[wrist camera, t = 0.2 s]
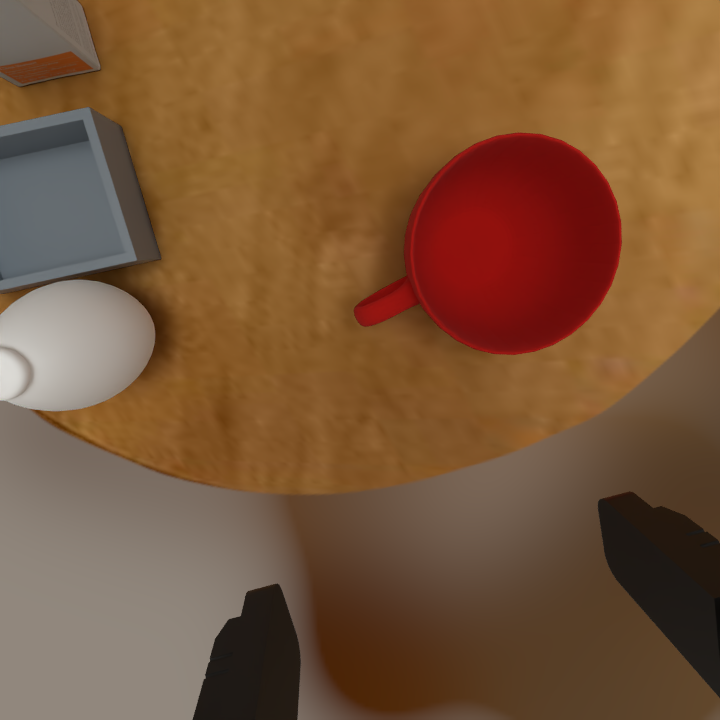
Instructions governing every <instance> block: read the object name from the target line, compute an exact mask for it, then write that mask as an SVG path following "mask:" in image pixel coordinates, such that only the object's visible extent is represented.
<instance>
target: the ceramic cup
mask: <svg viewBox="0 0 720 720" xmlns="http://www.w3.org/2000/svg"><path fill="white" fill-rule="evenodd" d="M621 245H622V238H621V219H620V215H619V210H618V206H617V201H616V199H615V197H614V194H613V192H612V190H611V188H610V185H609V183H608V181H607V180H606V179H605V177H604V176H603V174H602V173H601V172H600V170H599V169H598V167H597V166H596V165H595V164H594V163H593V162H592V161H591V160H590V159H589V158H587V157H586V156H585V155H584V154H583V153H582V152H581V151H580V150H578V149H576V148H574V147H573V146H571V145H569V144H567V143H566V142H564V141H562V140H559V139H556V138H552V137H549V136H546V135H542V134H531V133H513V134H506V135H499V136H495V137H492V138H489V139H487V140H484V141H481V142H478V143H476V144H474V145H472V146H471V147H469V148H468V149H466V150H464V151H463V152H461V153H459V154H458V155H456V156H455V157H454V158H453V159H451V160H450V161H449V162H448V163H447V164H446V165H445V166H444V167H443V168H442V169H441V170H440V171H439V172H438V173H437V174H436V175H435V176H434V177H433V178H432V180H431V181H430V182H429V184H428V185H427V186H426V188H425V189H424V191H423V192H422V193H421V195H420V196H419V198H418V200H417V202H416V204H415V206H414V208H413V210H412V213H411V215H410V218H409V221H408V225H407V229H406V233H405V244H404V259H405V267H406V273H407V276H405V277H403V278H401V279H400V280H398V281H396V282H394V283H392V284H390V285H388V286H386V287H385V288H383V289H381V290H379V291H377V292H376V293H374V294H372V295H371V296H369V297H367V298H366V299H364V300H363V301H361V302H360V303H359V304H358V305H357V306H356V307H355V308H354V314H355V317H356V319H357V321H358V323H359V324H360V325H362V326H364V327H366V326H372V325H375V324H378V323H380V322H383V321H385V320H387V319H389V318H391V317H393V316H395V315H397V314H399V313H401V312H403V311H404V310H406V309H408V308H410V307H413V306H415V305H418V304H420V305H421V307H422V308H423V310H424V311H425V312H426V313H427V314H428V315H429V316H430V318H431V319H432V320H433V321H434V322H435V323H436V324H437V325H438V326H439V327H440V328H441V329H442V330H443V331H445V332H446V333H447V334H449V335H450V336H451V337H453V338H454V339H455V340H457V341H458V342H461V343H463V344H465V345H467V346H469V347H471V348H473V349H475V350H480V351H484V352H488V353H492V354H508V355H516V354H523V353H529V352H535V351H538V350H540V349H543V348H546V347H549V346H552V345H554V344H556V343H557V342H559V341H561V340H563V339H564V338H566V337H568V336H569V335H571V334H572V333H573V332H575V331H576V330H577V329H578V328H579V327H580V326H582V325H583V324H584V323H585V322H586V321H587V320H588V319H589V318H590V317H591V315H592V314H593V313H594V312H595V311H596V309H597V308H598V307H599V306H600V304H601V303H602V301H603V299H604V297H605V296H606V294H607V292H608V290H609V289H610V287H611V285H612V282H613V279H614V276H615V273H616V270H617V267H618V264H619V258H620V251H621Z"/></svg>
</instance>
